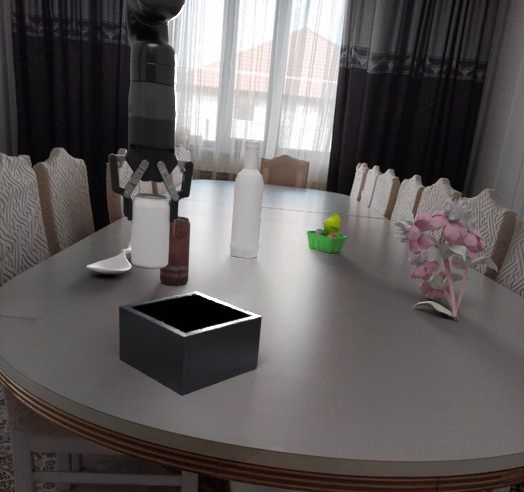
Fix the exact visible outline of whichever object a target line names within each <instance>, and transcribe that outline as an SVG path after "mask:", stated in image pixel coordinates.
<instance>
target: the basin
mask: <svg viewBox="0 0 524 492" xmlns="http://www.w3.org/2000/svg"><path fill="white" fill-rule="evenodd" d="M262 320H263V316H261V315H259V314H256V313H253V312H251V311H249V310H246V309H243V308H241V307H238V306H235V305H233V304H230V303H228V302H226V301H222V300H220V299H217V298H215V297H212V296H209V295H207V294H205V293H201V292H199V291H193V292H186V293H182V294H176V295H171V296H166V297H160V298H156V299H151V300H149V299H148V300H144V301H139V302H133V303H128V304H122V305H118V332H119V333H118V335H119V336H118V337H119V360H120V361H122V362H124V363H125V364H127V365H129V366H131V367H132V368H134V369H136V370H137V371H139V372H141V373H143V374H145V375H146V376H148V377H150V378H151V379H153V380H155V381H156V382H158V383H160V384H161V385H163V386H165V387H167V388H168V389H170V390H172V391H174V392H175V393H177V394H179V395H181V396H185V395H187V394H190V393H193V392H195V391H198V390H200V389H203V388H206V387H209V386H212V385H214V384H217V383H221V382H224V381H226V380H229V379H231V378H234V377H237V376H239V375H242V374H245V373H248V372H250V371H253V370H255V369H258V362H259V351H260V341H261V329H262V322H263V321H262Z"/></svg>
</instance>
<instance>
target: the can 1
mask: <svg viewBox="0 0 524 492" xmlns="http://www.w3.org/2000/svg"><path fill="white" fill-rule="evenodd" d="M133 195H134V197H133V199H132V221H130V224H131V225H130V237H131V238H130V240H131V254H130V263H131V264H132V265H133V266H134V267H137V268H139V269H147V270H158V269H159V270H160V268H164V267H166V265H168V253H169V224H170V205H169V197H168V196H167V195H164V194H158V193H145V192H140V193H139V192H138V193H137V192H136V193H133Z"/></svg>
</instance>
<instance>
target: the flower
mask: <svg viewBox="0 0 524 492" xmlns="http://www.w3.org/2000/svg"><path fill="white" fill-rule="evenodd" d="M463 198H464V199H461V200H460V199H456V198H455V199H454V200H453V198H452V196H450V197H448V198H447V199H445V201H444V203H443V206H444V208H445V210H436V211H435V212H434V213H433V214H432V215H431V213H430V212H422V213H421V214H419V215H417V217H416V218H414V213H413V212H411V211H405V212H402V215H403V217H401V219H400V218H398V220H397V221H392V223H393V225H395V227H398V228H396V230H397V231H396V232H395V234H394V238H396V239H399V240H398V241H399V242H400V243H403V244H406V243H407V244H408V250H409V251H410V253H412V255H410V257H407V260H408V263H409V265H412V266H415V267H414V268H413V269H412V270H411V272H410V278H411V279H413V280H416V279H418V280H422V281H423V282H420V283H419V286H418V287H419V291H420V293H421V294H423V295H426V296H425V298H429V299H431V301H430V300H429V301H420V302H419V301H418V302H417V303H415V304H414V305H413V307H412V309H414V308H416V307H418V306H421V307H423V306H425V307H428V308H432V309H434V310H435V311H437V313H441V314H446V315H448V316H449V317H451V318H453V319H454V320H455V321H457V322H458V323H459V321H460V320H459V316H458V311H459V308H460V306H461V303H462V300H463V298H464V295H465V292H466V287H467V280H468V281H469V278H468V270H469V268H470V269H473V268H476V267H477V266H478V265H485V266H487V267H488V268H489V269H491V270H495V272H496V273H498V272H499V271H498V266H497V265H496V264H495V263H494V261H493V260H492V259H491V257H490V256H480V255H478V254H477V253H481V252H484V251H486V243H485V242H484V241H483V236H482V233H481V232H480V231H479V230H477V228H478V227H479V224H478V222H479V221H478V220H479V215H477V216H476V217H475V218H474V219H473V217H474V215H472V212H473V208H471V207H468V205H467V204H465V202H466V200H467V198H466V196H464V197H463ZM464 204H465V205H464ZM467 207H468V208H467ZM444 227H445V228H444ZM442 228H444V230H443V232H442V236H441V240H440V242H439V241H438V240H437V239H436V238H435V237H434V236H433V235H432V234H430V233H428V231H430V232H432V233H433V232H436V231H438V230H440V229H442ZM445 241H446V242H445ZM444 242H445V243H444ZM433 244H436V246H437V248H438V252H439V254H440V255H441V258H442V260H443V265H444V269H445V271H444V270H439V269H438V268H440V263H439V261H438V260H437V259H429V257H430V252H429V251H428V249H430V248H431V247H432V246H433ZM421 250H423V251H421ZM450 257H452V258H451V261H450V259H449V258H450ZM428 259H429V260H428ZM450 262H451V264H450ZM451 266H452V267H453V268H455V269H456V270H463V273H462V274H461V273H458V272H454V271H452V270H451ZM437 270H438V271H437ZM458 281H461V284H460V291H459V296H458V299H457V302H456V295H455V287H454V283H455V282H458ZM443 295H444V296H445V298H446V300H447V302H448V304H449V307H450V309H451V310H450V309H447V308H446V307H444V306H443V305H442V304H439V303H438V302H435V301H436V300H441V299H442V298H443Z"/></svg>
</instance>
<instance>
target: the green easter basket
mask: <svg viewBox="0 0 524 492" xmlns="http://www.w3.org/2000/svg"><path fill="white" fill-rule="evenodd" d="M340 216H341V215H340V214H339V213H336V212H333V213H332V214H331V215H330V216H329V217H328V218H326V219H325V220H324V221H323V229H322V228H317V229H316V230H306V231H305V233H306V235H307V241H308V248H309V249H314V250H317V251H320V252H324V253H328V254H335V253H341V251H342V249H343V247H344V245H345V242H346V240H347V239H348V236H347V235H343V234H340V233H339V232H340V230H341V223H342V219H341V217H340Z"/></svg>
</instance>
